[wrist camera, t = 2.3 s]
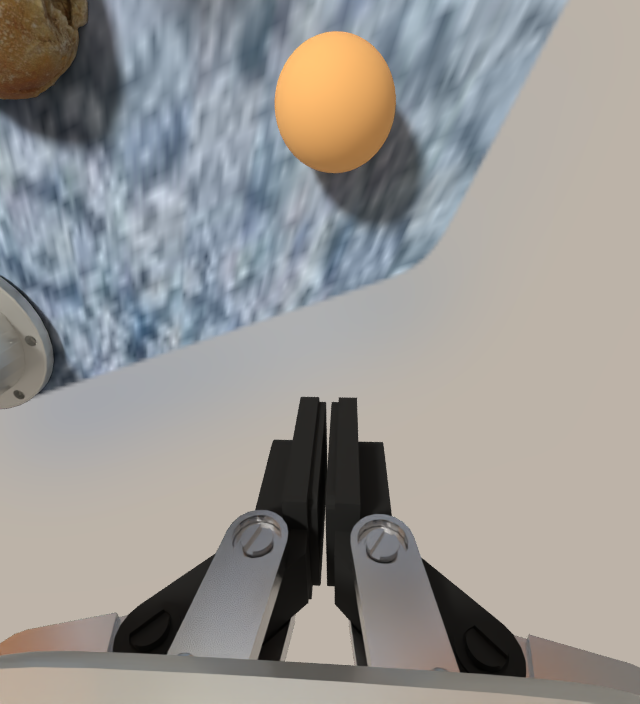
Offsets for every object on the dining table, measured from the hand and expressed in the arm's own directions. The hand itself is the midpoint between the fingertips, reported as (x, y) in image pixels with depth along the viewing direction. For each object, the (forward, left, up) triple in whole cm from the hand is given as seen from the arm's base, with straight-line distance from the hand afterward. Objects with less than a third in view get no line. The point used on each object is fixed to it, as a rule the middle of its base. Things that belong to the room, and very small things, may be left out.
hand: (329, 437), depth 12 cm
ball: (0, +9, -14) cm, 17 cm away
